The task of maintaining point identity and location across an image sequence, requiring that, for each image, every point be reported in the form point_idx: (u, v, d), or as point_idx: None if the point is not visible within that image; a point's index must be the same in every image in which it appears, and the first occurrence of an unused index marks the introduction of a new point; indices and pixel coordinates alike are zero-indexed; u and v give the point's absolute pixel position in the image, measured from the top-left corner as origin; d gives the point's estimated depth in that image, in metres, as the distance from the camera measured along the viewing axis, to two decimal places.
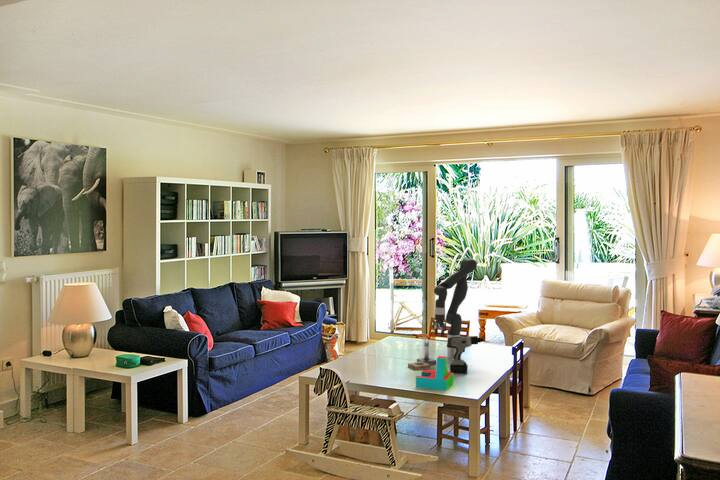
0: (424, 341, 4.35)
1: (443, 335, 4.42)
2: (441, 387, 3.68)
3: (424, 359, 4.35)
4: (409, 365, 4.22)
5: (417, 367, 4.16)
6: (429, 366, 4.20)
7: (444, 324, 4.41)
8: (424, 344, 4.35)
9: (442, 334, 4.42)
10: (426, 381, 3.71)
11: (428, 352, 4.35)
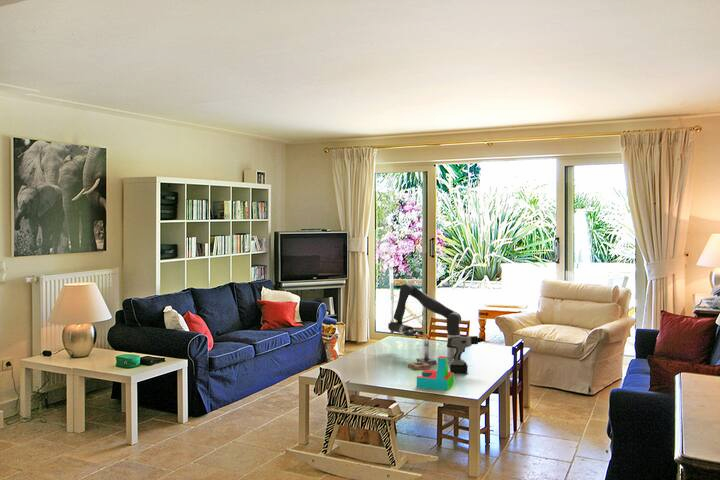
0: (424, 341, 4.35)
1: (411, 334, 4.44)
2: (442, 387, 3.68)
3: (424, 359, 4.35)
4: (409, 365, 4.22)
5: (417, 367, 4.16)
6: (429, 366, 4.20)
7: (403, 333, 4.50)
8: (424, 344, 4.35)
9: (410, 335, 4.44)
10: (427, 381, 3.71)
11: (428, 352, 4.35)
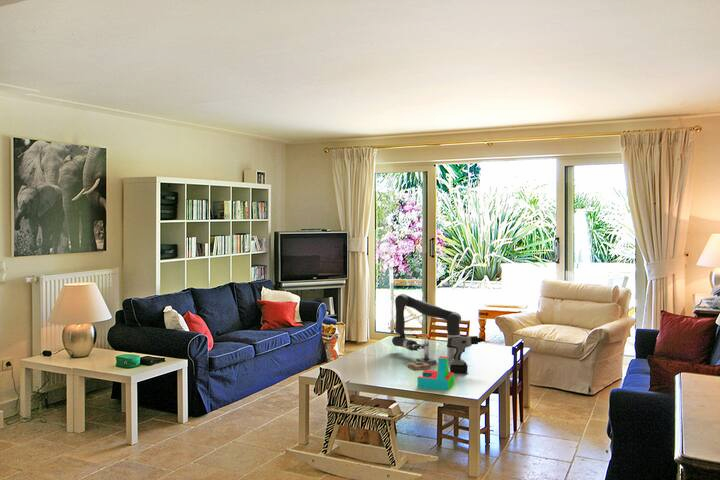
0: (424, 341, 4.35)
1: (415, 349, 4.39)
2: (443, 387, 3.67)
3: (424, 359, 4.35)
4: (409, 365, 4.22)
5: (417, 367, 4.16)
6: (429, 366, 4.20)
7: (407, 347, 4.46)
8: (424, 344, 4.35)
9: None
10: (428, 381, 3.70)
11: (428, 352, 4.35)
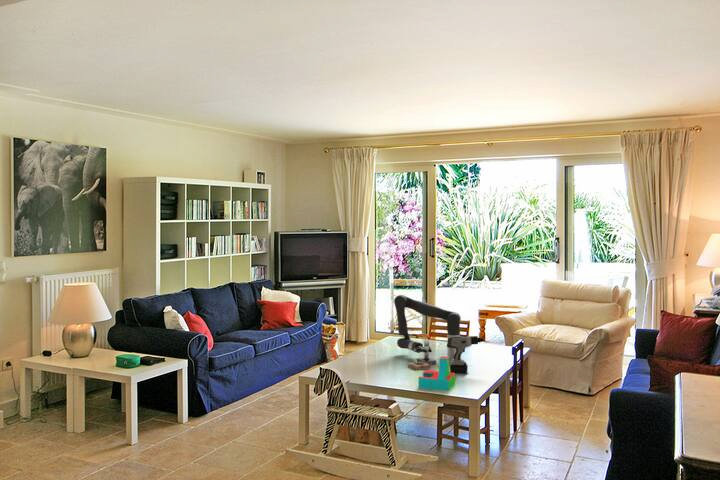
0: (424, 341, 4.35)
1: (424, 351, 4.33)
2: (444, 387, 3.67)
3: (424, 359, 4.35)
4: (409, 365, 4.22)
5: (417, 367, 4.16)
6: (429, 366, 4.20)
7: (414, 350, 4.38)
8: (424, 344, 4.35)
9: (424, 352, 4.33)
10: (429, 382, 3.70)
11: (428, 352, 4.35)
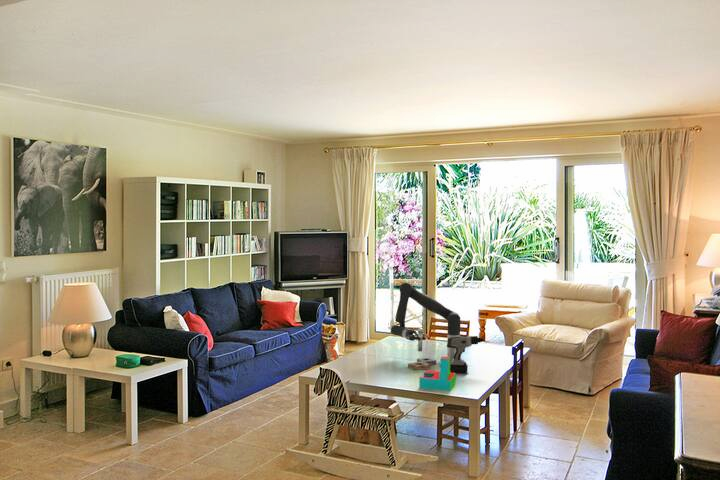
0: (418, 328, 4.25)
1: (418, 338, 4.22)
2: (445, 387, 3.67)
3: (418, 347, 4.25)
4: (409, 365, 4.22)
5: (417, 367, 4.16)
6: (429, 366, 4.20)
7: (408, 337, 4.27)
8: (418, 332, 4.25)
9: (417, 339, 4.23)
10: (430, 382, 3.69)
11: (422, 340, 4.24)
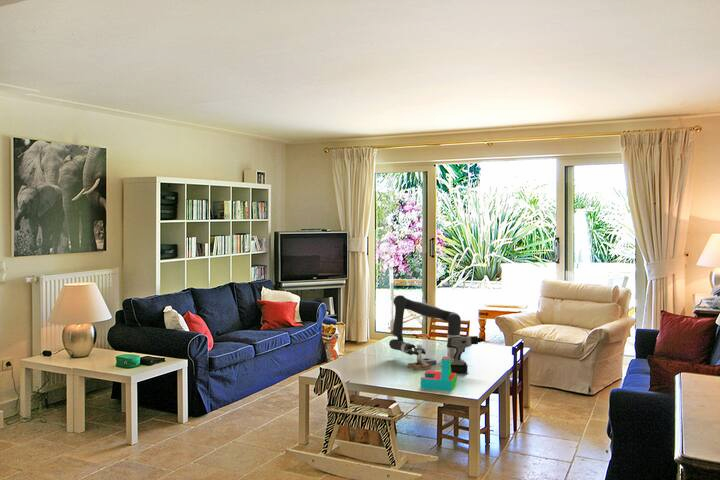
0: (417, 345, 4.22)
1: (415, 353, 4.19)
2: (447, 388, 3.66)
3: (417, 363, 4.22)
4: (409, 365, 4.22)
5: (417, 367, 4.16)
6: (429, 366, 4.20)
7: (406, 351, 4.25)
8: (417, 348, 4.21)
9: (415, 354, 4.20)
10: (431, 382, 3.69)
11: (421, 356, 4.21)
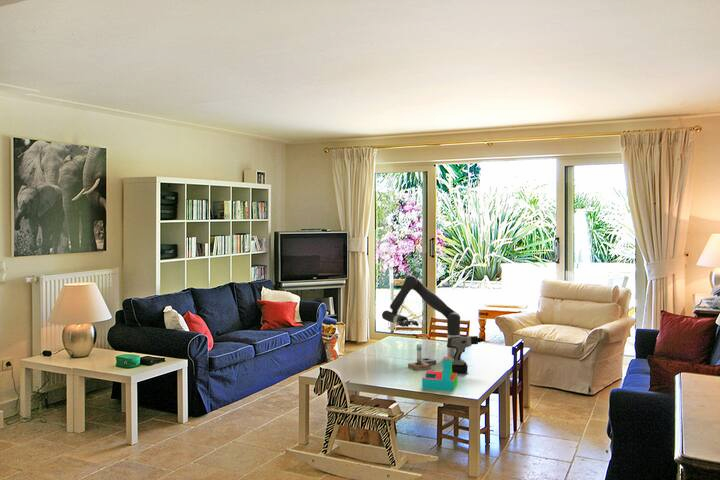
0: (417, 345, 4.22)
1: (406, 324, 4.32)
2: (448, 388, 3.66)
3: (417, 363, 4.22)
4: (409, 365, 4.22)
5: (417, 367, 4.16)
6: (429, 366, 4.20)
7: (398, 323, 4.39)
8: (417, 348, 4.22)
9: (405, 325, 4.33)
10: (433, 382, 3.68)
11: (421, 356, 4.21)
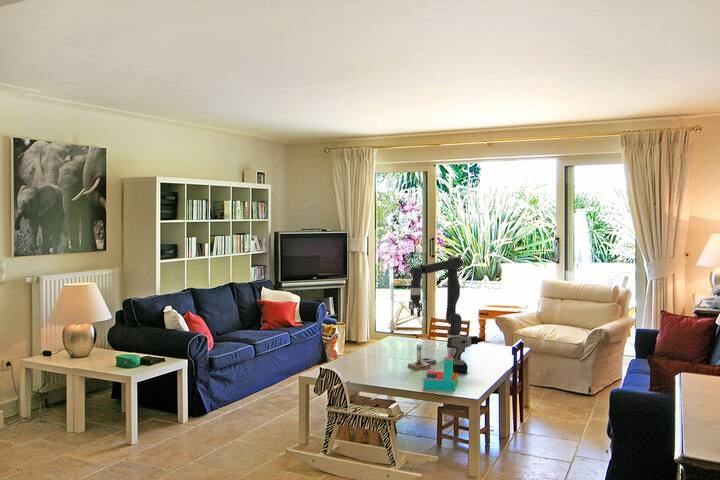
0: (417, 345, 4.22)
1: (419, 315, 4.40)
2: (450, 388, 3.65)
3: (417, 363, 4.22)
4: (409, 365, 4.22)
5: (417, 367, 4.16)
6: (429, 366, 4.20)
7: (420, 304, 4.38)
8: (417, 348, 4.22)
9: (418, 314, 4.40)
10: (434, 383, 3.68)
11: (421, 356, 4.21)
